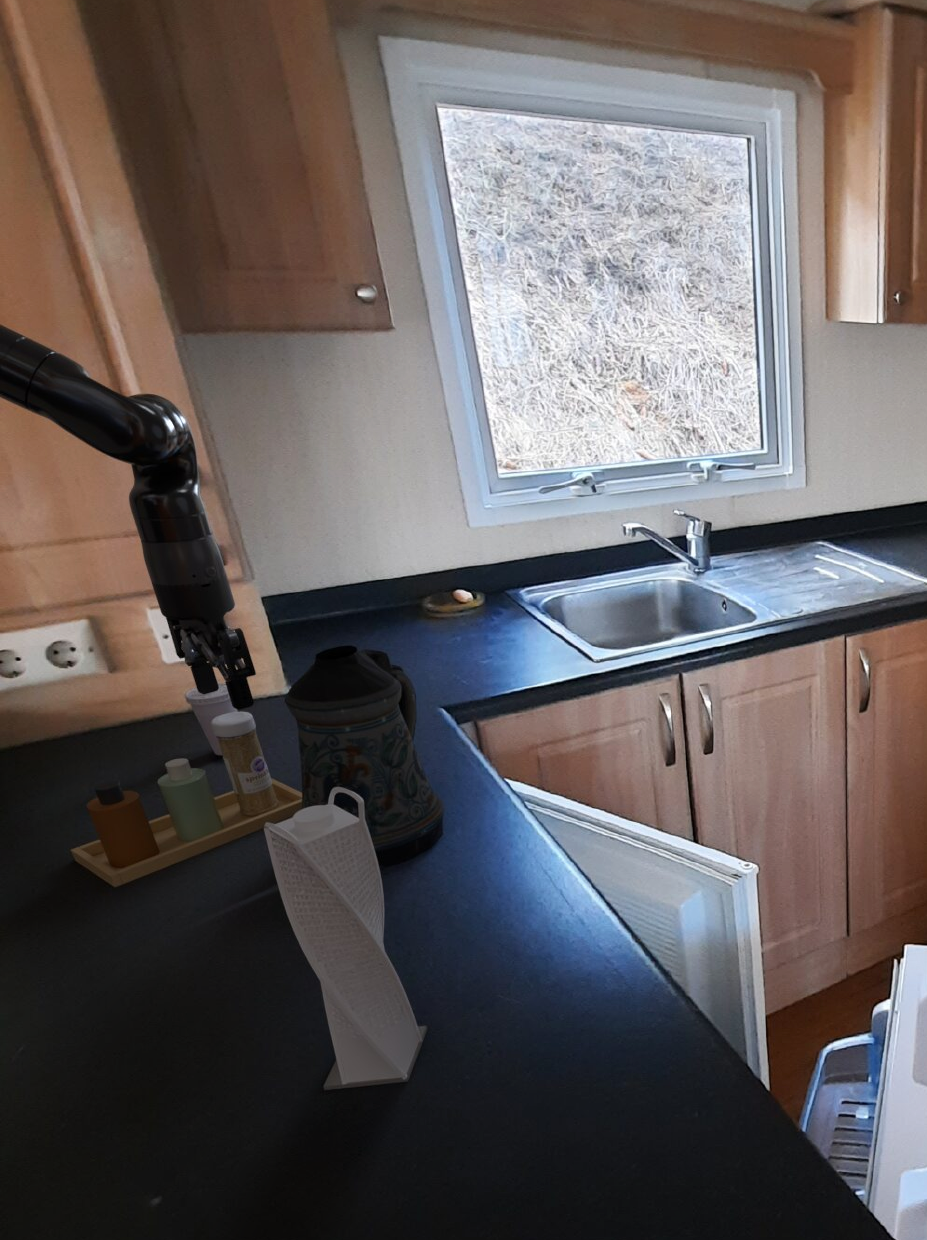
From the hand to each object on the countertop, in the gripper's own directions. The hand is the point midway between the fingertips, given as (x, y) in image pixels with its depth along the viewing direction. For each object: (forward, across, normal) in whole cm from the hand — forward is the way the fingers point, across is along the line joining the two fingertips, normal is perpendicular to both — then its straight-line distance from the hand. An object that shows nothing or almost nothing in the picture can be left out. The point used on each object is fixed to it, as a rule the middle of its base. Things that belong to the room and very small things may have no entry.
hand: (226, 699), depth 124 cm
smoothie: (+17, -24, +8) cm, 30 cm away
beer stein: (+16, +18, +6) cm, 25 cm away
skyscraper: (+16, +57, -18) cm, 62 cm away
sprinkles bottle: (+16, 0, 0) cm, 16 cm away
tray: (+16, 0, -7) cm, 18 cm away
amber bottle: (+16, 0, -15) cm, 22 cm away
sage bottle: (+16, 0, -7) cm, 18 cm away
